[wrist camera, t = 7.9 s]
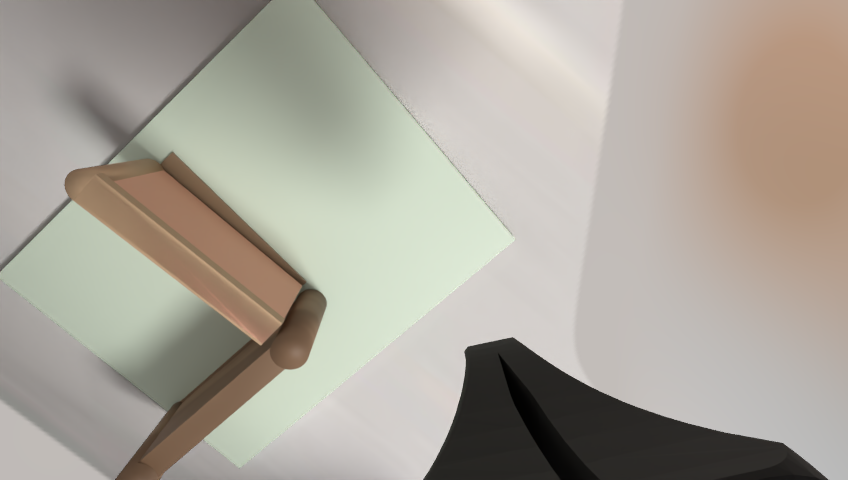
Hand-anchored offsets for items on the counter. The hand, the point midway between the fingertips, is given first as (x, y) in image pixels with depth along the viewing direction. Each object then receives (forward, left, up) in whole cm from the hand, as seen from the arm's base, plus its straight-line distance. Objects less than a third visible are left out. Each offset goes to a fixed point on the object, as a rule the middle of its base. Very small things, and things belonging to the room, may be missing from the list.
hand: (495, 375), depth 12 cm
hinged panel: (+8, +6, -9) cm, 14 cm away
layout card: (+6, +6, -9) cm, 13 cm away
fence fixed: (+3, +10, -9) cm, 14 cm away
